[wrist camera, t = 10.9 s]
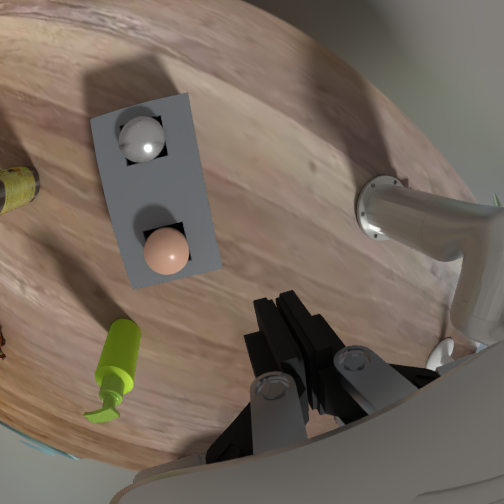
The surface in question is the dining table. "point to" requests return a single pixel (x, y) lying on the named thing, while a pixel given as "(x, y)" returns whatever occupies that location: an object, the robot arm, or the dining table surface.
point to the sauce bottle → (17, 187)
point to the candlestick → (440, 354)
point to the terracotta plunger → (166, 250)
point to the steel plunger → (141, 139)
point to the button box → (156, 189)
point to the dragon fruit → (0, 342)
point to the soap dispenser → (116, 368)
